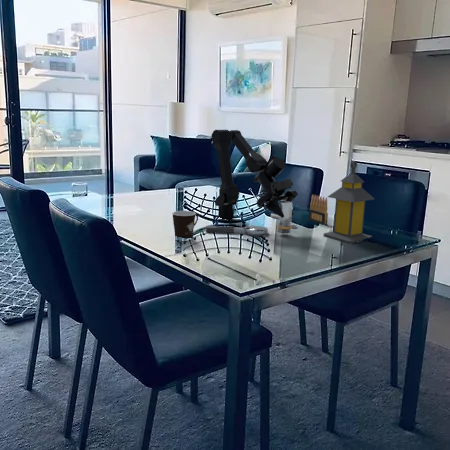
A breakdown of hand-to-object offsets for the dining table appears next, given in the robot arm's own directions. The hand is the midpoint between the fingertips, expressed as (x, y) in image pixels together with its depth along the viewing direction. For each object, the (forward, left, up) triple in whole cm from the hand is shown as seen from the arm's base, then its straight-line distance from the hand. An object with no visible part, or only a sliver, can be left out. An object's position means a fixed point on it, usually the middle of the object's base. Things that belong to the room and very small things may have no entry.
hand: (287, 216), depth 193 cm
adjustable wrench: (0, +25, -9) cm, 26 cm away
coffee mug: (-38, -10, -8) cm, 40 cm away
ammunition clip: (+15, +26, -8) cm, 31 cm away
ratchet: (-20, +2, -8) cm, 21 cm away
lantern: (+24, +2, -8) cm, 25 cm away
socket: (-1, +1, -7) cm, 7 cm away
